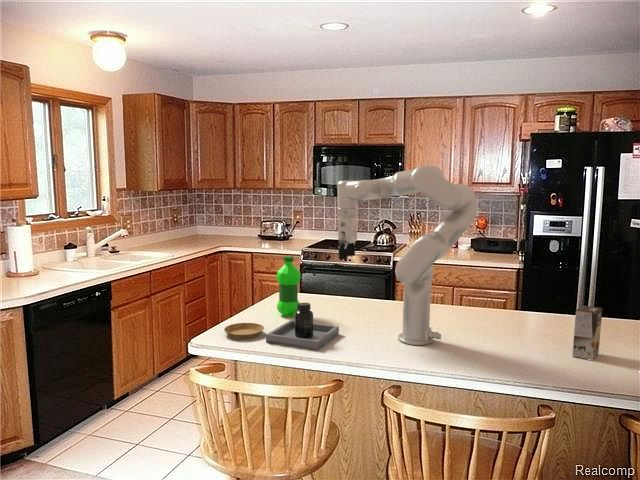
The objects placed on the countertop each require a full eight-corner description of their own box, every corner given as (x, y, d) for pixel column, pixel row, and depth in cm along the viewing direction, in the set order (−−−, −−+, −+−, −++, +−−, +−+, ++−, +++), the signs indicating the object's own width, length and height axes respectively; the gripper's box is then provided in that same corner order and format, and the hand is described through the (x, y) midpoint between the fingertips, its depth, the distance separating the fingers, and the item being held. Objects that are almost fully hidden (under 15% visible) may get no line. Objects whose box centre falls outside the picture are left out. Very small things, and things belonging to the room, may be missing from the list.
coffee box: (592, 361, 171) (596, 313, 169) (571, 356, 175) (575, 309, 173) (599, 354, 178) (602, 307, 176) (578, 349, 182) (582, 304, 180)
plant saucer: (256, 342, 187) (256, 335, 187) (217, 339, 190) (217, 332, 190) (269, 330, 201) (269, 324, 201) (232, 328, 204) (232, 321, 204)
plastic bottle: (273, 312, 226) (273, 255, 223) (297, 311, 229) (297, 254, 226) (278, 318, 217) (278, 259, 213) (303, 317, 220) (303, 258, 216)
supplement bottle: (314, 333, 195) (314, 301, 193) (312, 339, 188) (312, 306, 187) (295, 332, 195) (295, 301, 194) (293, 338, 189) (293, 306, 187)
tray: (338, 334, 197) (338, 326, 197) (317, 350, 179) (317, 341, 178) (290, 327, 205) (290, 320, 204) (266, 342, 186) (266, 334, 186)
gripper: (349, 214, 191) (349, 261, 193) (363, 211, 207) (362, 254, 209) (330, 214, 194) (330, 260, 196) (345, 211, 210) (344, 253, 212)
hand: (346, 257), depth 202 cm, fingers open, 9 cm apart
